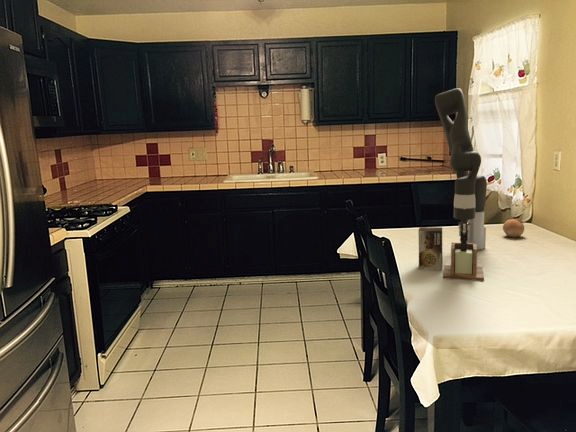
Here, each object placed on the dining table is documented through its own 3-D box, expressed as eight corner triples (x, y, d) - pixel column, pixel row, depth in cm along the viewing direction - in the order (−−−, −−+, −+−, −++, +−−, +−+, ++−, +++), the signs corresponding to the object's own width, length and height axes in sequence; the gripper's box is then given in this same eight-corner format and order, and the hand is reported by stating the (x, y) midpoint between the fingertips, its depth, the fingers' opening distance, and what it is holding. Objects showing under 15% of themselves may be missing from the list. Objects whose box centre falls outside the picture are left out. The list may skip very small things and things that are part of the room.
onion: (519, 241, 236) (529, 223, 234) (517, 240, 228) (527, 222, 226) (500, 233, 240) (510, 215, 239) (497, 232, 233) (507, 213, 231)
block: (455, 268, 185) (455, 248, 184) (471, 269, 183) (472, 249, 182) (454, 273, 180) (455, 252, 178) (471, 274, 178) (472, 253, 176)
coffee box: (442, 265, 193) (443, 227, 190) (442, 270, 187) (442, 230, 184) (419, 264, 196) (419, 226, 193) (418, 269, 190) (418, 229, 187)
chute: (444, 267, 190) (444, 240, 188) (482, 269, 186) (483, 242, 184) (443, 278, 178) (443, 249, 176) (484, 280, 173) (484, 251, 171)
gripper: (454, 202, 184) (453, 246, 187) (453, 208, 172) (452, 255, 175) (474, 203, 182) (473, 247, 185) (475, 209, 169) (474, 256, 173)
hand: (463, 250), depth 180 cm, fingers closed
